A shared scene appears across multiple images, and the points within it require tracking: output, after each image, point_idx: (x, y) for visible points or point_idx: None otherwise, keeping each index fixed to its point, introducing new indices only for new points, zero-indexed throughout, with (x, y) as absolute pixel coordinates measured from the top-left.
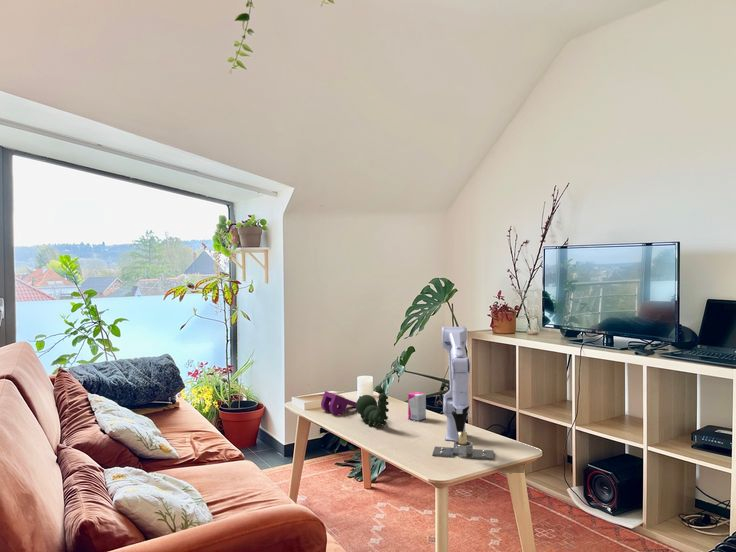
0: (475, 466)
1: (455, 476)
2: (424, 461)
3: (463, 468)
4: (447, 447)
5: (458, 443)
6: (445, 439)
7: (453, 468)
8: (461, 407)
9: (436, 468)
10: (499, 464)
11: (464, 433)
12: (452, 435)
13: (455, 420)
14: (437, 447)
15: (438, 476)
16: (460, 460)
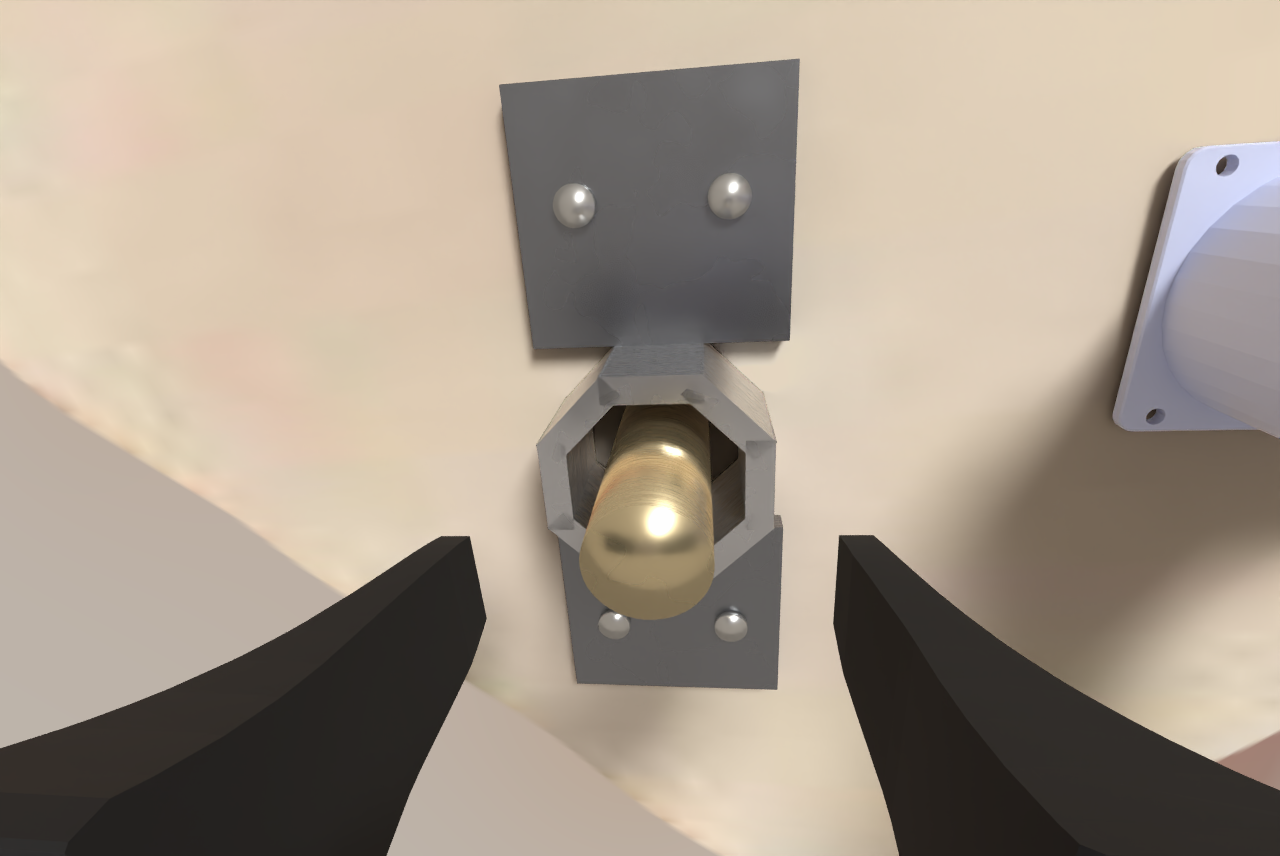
0: (389, 549)
1: (99, 416)
2: (293, 23)
3: (299, 463)
4: (784, 247)
5: (644, 431)
6: (1188, 154)
7: (256, 380)
8: None
9: (171, 216)
10: (504, 703)
11: (591, 592)
12: (1226, 267)
13: (227, 679)
14: (763, 106)
15: (7, 272)
16: (482, 421)
